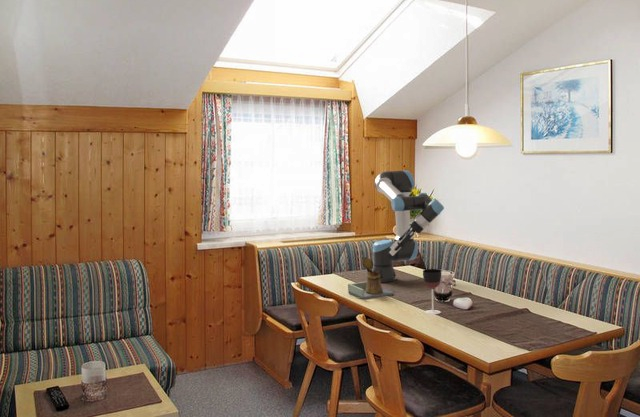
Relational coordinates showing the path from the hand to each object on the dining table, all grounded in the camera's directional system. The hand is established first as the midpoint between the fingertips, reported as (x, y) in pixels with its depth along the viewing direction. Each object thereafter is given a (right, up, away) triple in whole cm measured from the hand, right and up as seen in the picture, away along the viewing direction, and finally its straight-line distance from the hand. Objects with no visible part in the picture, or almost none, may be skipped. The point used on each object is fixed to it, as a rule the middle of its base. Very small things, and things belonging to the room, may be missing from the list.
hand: (391, 251), depth 322 cm
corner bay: (-11, -23, +5) cm, 26 cm away
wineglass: (+16, -27, -35) cm, 47 cm away
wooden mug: (-10, -22, +5) cm, 25 cm away
